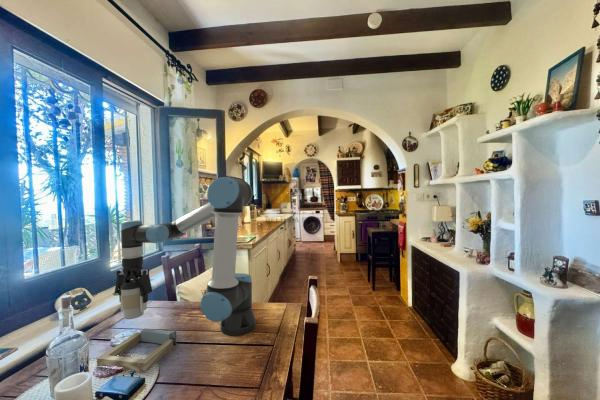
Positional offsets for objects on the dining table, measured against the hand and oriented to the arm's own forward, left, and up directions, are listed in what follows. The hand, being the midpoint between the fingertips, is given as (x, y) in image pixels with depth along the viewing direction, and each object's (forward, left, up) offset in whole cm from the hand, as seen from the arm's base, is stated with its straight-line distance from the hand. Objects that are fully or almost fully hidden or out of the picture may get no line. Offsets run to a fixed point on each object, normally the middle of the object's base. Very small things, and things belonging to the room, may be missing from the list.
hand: (133, 309), depth 107 cm
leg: (-15, +5, -9) cm, 18 cm away
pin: (-23, +6, -10) cm, 25 cm away
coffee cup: (0, 0, -3) cm, 3 cm away
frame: (-15, +13, -10) cm, 22 cm away
